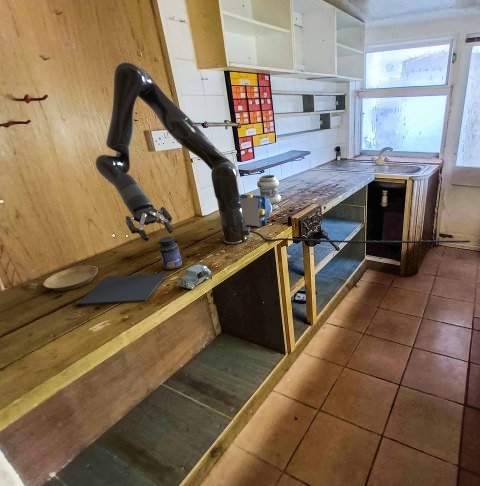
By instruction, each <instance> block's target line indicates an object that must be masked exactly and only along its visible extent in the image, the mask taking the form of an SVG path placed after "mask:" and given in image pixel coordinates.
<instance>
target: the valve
mask: <svg viewBox="0 0 480 486" xmlns="http://www.w3.org/2000/svg"><path fill="white" fill-rule="evenodd" d="M240 198H241V206H242V213H243V217H244V218H245V225H246V226H250V227H251V226H253V227H258V228H261V227H263V226H267V218H269V217H270V216H271V215H272V212H273V211H272V205H271V204H270V202H269V201H268V199H267V198H266V197H265V196H261V195H255V194H254V195H253V193H246V194H240Z"/></svg>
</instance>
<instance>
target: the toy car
mask: <svg viewBox="0 0 480 486" xmlns="http://www.w3.org/2000/svg"><path fill="white" fill-rule="evenodd" d="M211 274H212V271H211V270H210V269H209V268H208V267H207V266H206V265H203V264H199V263H198V264H195V265H192V266H190V267H188V268H187V269H186V270H185V275H184V276H183V277H182V279H180V280H178V283H177V286H179V287H182V288H186V289H190V290H193V289H195V287H196V286H198V285H200V284H201V283H202V282H204V281H205V280H209V279H210V275H211Z"/></svg>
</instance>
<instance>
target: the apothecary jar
mask: <svg viewBox="0 0 480 486" xmlns="http://www.w3.org/2000/svg"><path fill="white" fill-rule="evenodd" d="M258 178H259V180H258V181H257V183H256V186H257V188H258V189H259V194H260V195H259V196H265V197H266V198H267V199H268V201H269V202H270V204H271V205H272V212H274V211H278V210H280V208H281V207H280V206H279V205H277V204H278V203H280V201H281V200H282V196H281V195H280V194H279V191H278V190H279V189H278V187H279V185H280V181H279V180H278V179H277V178H276V175H274V174H264V175H261V176H259V177H258Z"/></svg>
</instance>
